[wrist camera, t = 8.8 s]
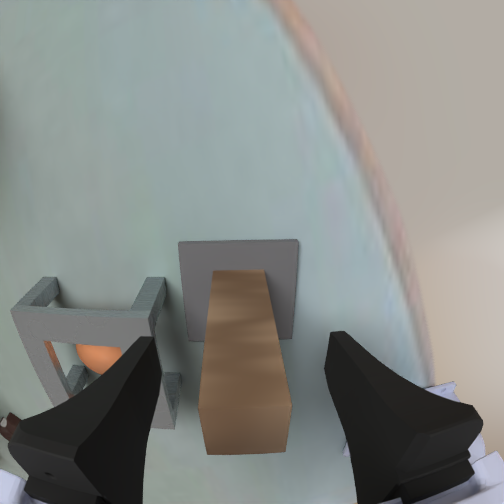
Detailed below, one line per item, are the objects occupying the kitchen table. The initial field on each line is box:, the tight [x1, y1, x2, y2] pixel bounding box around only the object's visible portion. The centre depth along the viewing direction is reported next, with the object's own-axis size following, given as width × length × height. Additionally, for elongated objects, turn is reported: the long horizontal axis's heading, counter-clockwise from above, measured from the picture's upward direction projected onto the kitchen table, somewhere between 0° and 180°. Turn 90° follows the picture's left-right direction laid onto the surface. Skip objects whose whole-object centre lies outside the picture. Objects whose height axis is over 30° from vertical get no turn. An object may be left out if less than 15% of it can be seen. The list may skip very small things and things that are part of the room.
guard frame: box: [10, 277, 182, 429], centre depth 16 cm, size 8×8×4 cm
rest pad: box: [178, 239, 298, 341], centre depth 17 cm, size 6×6×1 cm
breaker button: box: [76, 344, 122, 375], centre depth 17 cm, size 3×3×2 cm
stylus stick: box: [198, 269, 292, 455], centre depth 13 cm, size 3×3×9 cm
